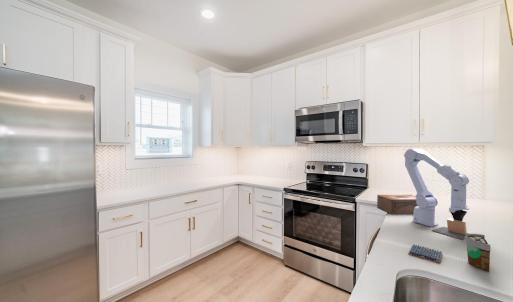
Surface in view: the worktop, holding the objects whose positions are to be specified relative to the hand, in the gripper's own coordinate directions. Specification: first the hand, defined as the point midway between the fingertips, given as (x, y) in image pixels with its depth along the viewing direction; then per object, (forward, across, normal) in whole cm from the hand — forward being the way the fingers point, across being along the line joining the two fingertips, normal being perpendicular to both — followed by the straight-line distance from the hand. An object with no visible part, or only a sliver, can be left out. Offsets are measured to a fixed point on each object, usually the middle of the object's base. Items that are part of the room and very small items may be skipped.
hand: (457, 224), depth 112 cm
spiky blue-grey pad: (+5, -42, -5) cm, 43 cm away
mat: (+4, -4, +1) cm, 6 cm away
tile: (+4, -1, 0) cm, 4 cm away
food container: (+5, -33, -17) cm, 38 cm away
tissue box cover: (+5, +15, +36) cm, 40 cm away
